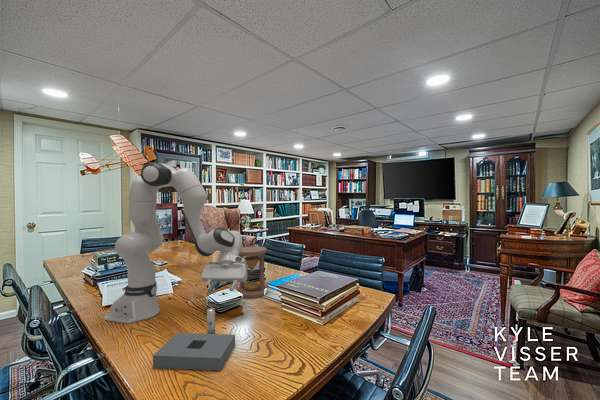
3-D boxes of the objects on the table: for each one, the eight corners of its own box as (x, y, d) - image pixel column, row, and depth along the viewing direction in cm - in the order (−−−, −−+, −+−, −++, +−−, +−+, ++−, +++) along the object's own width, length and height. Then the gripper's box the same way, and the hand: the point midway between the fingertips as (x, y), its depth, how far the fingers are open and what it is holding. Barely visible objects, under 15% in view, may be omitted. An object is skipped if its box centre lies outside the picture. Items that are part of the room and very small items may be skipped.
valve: (203, 303, 135) (218, 308, 129) (203, 290, 135) (218, 294, 129) (214, 298, 141) (229, 303, 134) (214, 286, 141) (229, 290, 134)
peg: (205, 336, 102) (205, 310, 102) (209, 332, 105) (208, 307, 105) (213, 336, 102) (212, 311, 102) (216, 332, 105) (216, 307, 105)
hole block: (153, 368, 83) (152, 355, 83) (177, 343, 97) (177, 332, 97) (220, 370, 82) (220, 358, 82) (235, 345, 96) (235, 334, 96)
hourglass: (273, 291, 152) (273, 247, 151) (252, 301, 137) (252, 253, 137) (251, 285, 161) (250, 245, 161) (229, 294, 146) (228, 250, 146)
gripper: (204, 258, 122) (194, 286, 112) (247, 258, 120) (241, 287, 110) (208, 265, 126) (199, 293, 116) (250, 265, 124) (245, 294, 115)
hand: (220, 290), depth 113 cm, fingers open, 8 cm apart
